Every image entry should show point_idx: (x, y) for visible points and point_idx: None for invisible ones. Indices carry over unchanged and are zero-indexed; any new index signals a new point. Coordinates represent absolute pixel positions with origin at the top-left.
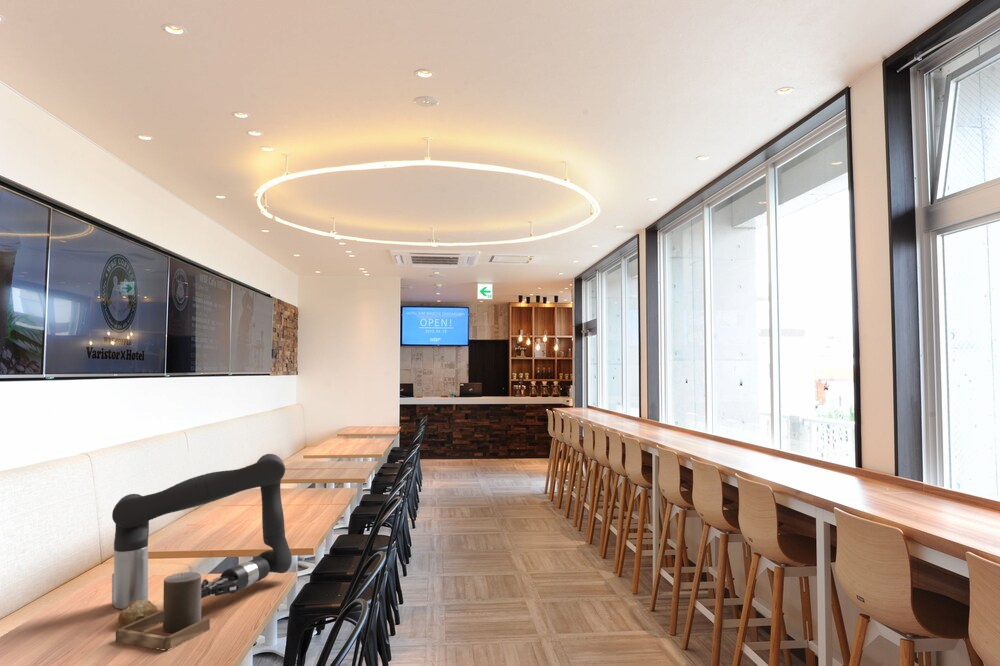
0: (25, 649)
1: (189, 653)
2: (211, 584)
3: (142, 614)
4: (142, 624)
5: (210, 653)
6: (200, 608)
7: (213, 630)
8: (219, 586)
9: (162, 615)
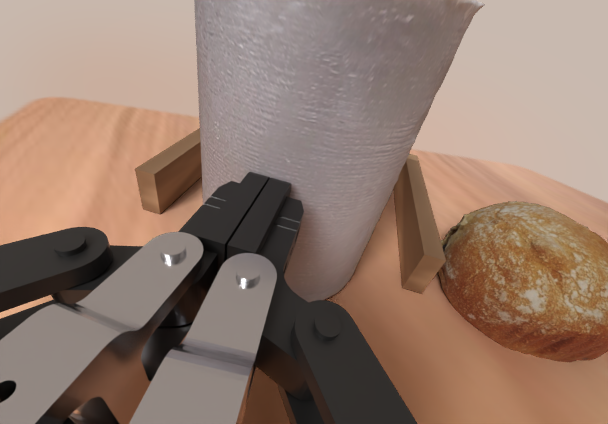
0: (541, 182)
1: (170, 120)
2: (187, 344)
3: (466, 222)
4: (405, 201)
5: (111, 112)
6: (202, 188)
7: (123, 201)
8: (21, 252)
9: (414, 261)
